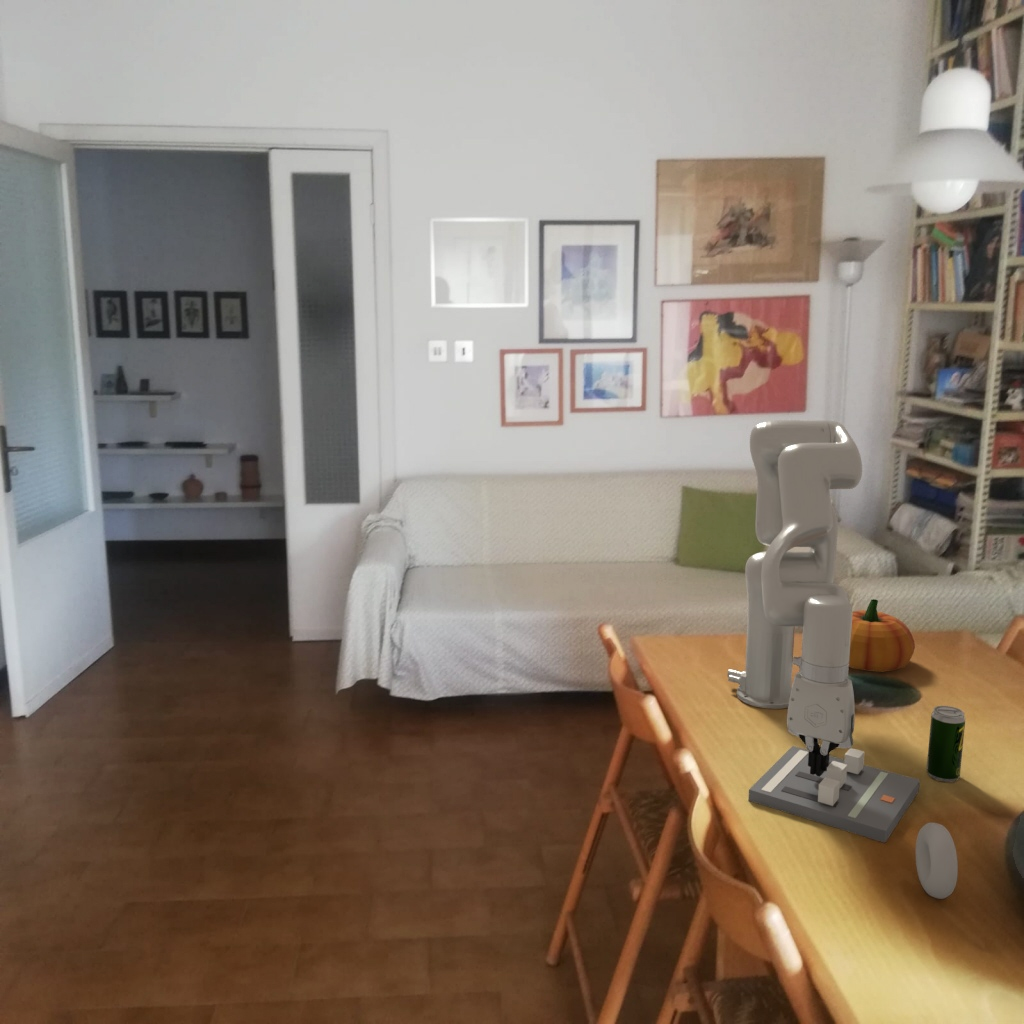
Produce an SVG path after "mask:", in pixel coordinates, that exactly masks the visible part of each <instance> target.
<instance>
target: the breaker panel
mask: <svg viewBox="0 0 1024 1024" xmlns="http://www.w3.org/2000/svg"><path fill="white" fill-rule="evenodd" d="M808 757H809V751H808V750H807V749H806V748H802V747H800V746H799V747H798V746H796V745H791V747H790V748H789V749H788V750H787V751H786V752H785V753H784V754H783V755H782V756H781V757H779V759H778V760H777V761H776V762H775V763H774V764H773V765H772V766H771V767H770V768H769V769H768V770H767V771H766V772H765V773H764V774H763V775H762V776H761V777H760V778H759V779H758V780H757V781H756V782H755V783H754V784H753V785H752V786H751V787H749V788H748V801H749V802H752V803H756V804H758V805H762V806H765V807H767V808H772V809H774V810H777V811H782V812H785V813H788V814H789V815H790V814H791V815H793V816H797V817H800V818H804V819H806V820H807V819H808V820H810V821H813V822H816V823H820V824H823V825H826V826H829V827H833V828H837V829H839V830H842V831H845V832H849V833H852V834H855V835H859V836H861V837H865V838H868V839H870V840H874V841H878V842H881V843H884V844H886V842H887V840H889V838H890V836H891V834H892V833H893V831H894V830H895V828H896V827H897V825H898V824H899V823H900V820H901V819H902V817H903V815H904V814H905V813H906V811H907V810H908V808H909V807H910V805H911V804H912V802H913V801H914V799H915V797H917V795H918V793H919V791H920V782H921V779H918V778H916V777H911V776H909V775H908V776H907V775H904V774H900V773H896V772H892V771H889V770H886V769H881V768H877V767H874V766H871V765H866V764H864V763H865V751H863V750H859V749H855V748H852V747H851V748H848V750H847V751H846V752H845V753H844V759H843V758H840V757H836V756H833V755H829V765H830V763H831V762H832V761H836V762H840V763H843V764H847V777H846V782H845V783H844V784H843V786H842V787H841V788H840V781H837V780H834V779H830V778H826V775H827V771H824V773H823V774H822V775H821V776H820V777H819V776H816V774H814V775H812V774H810V767H809V766H808Z"/></svg>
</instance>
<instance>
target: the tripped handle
mask: <svg viewBox="0 0 1024 1024" xmlns="http://www.w3.org/2000/svg"><path fill="white" fill-rule="evenodd" d="M846 777H847V764H843V763H840V762H836V761H832V762H831V763H830V765H829V766H828V767H827V775H826V778H830V779H834V780H837V781H840V788H841V787H842V786H843V784H844V783H845V782H846Z"/></svg>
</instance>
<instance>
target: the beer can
mask: <svg viewBox="0 0 1024 1024" xmlns="http://www.w3.org/2000/svg"><path fill="white" fill-rule="evenodd" d="M932 710H933V711H932V713H931V716H930V727H929V728H930V729H929V739H928V747H927V748H928V750H927V752H928V753H927V759H926V760H927V761H926V762H927V763H926V771H927V774H928V776H929V777H930V778H932V779H934V780H936V781H938V782H942V783H954V782H956V781H958V780H959V778H960V777H961V769H962V756H963V748H964V739H965V738H964V737H965V727H966V717H965V712H964V711H963V710H962V709H960V708H958V707H954V706H950V705H949V706H948V705H938V706H935V707H933V709H932ZM957 779H958V780H957Z"/></svg>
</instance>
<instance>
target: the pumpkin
mask: <svg viewBox="0 0 1024 1024" xmlns="http://www.w3.org/2000/svg"><path fill="white" fill-rule="evenodd" d="M878 603H879V599H874V598H872V599H870V602H869V604H868V605H867V608H866V610H864V609H863V610H857V611H852V628H851V642H850V656H849V668H852V669H855V670H862V671H871V672H880V673H882V672H890V671H895V670H899V669H902V668H905V667H906V666H907V665H908V664H909V662H910V660H911V659H912V657H913V654H914V652H915V648H916V647H915V645H916V644H915V640H914V637H913V635H912V634H913V633H911V630H910V629H909V627H908V626H907V625H906V623H904V622H903V621H902V620H901V619H898V618H897V617H895V616H893V615H890V614H887V613H885V612H882V611H878V608H877V607H878Z"/></svg>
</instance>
